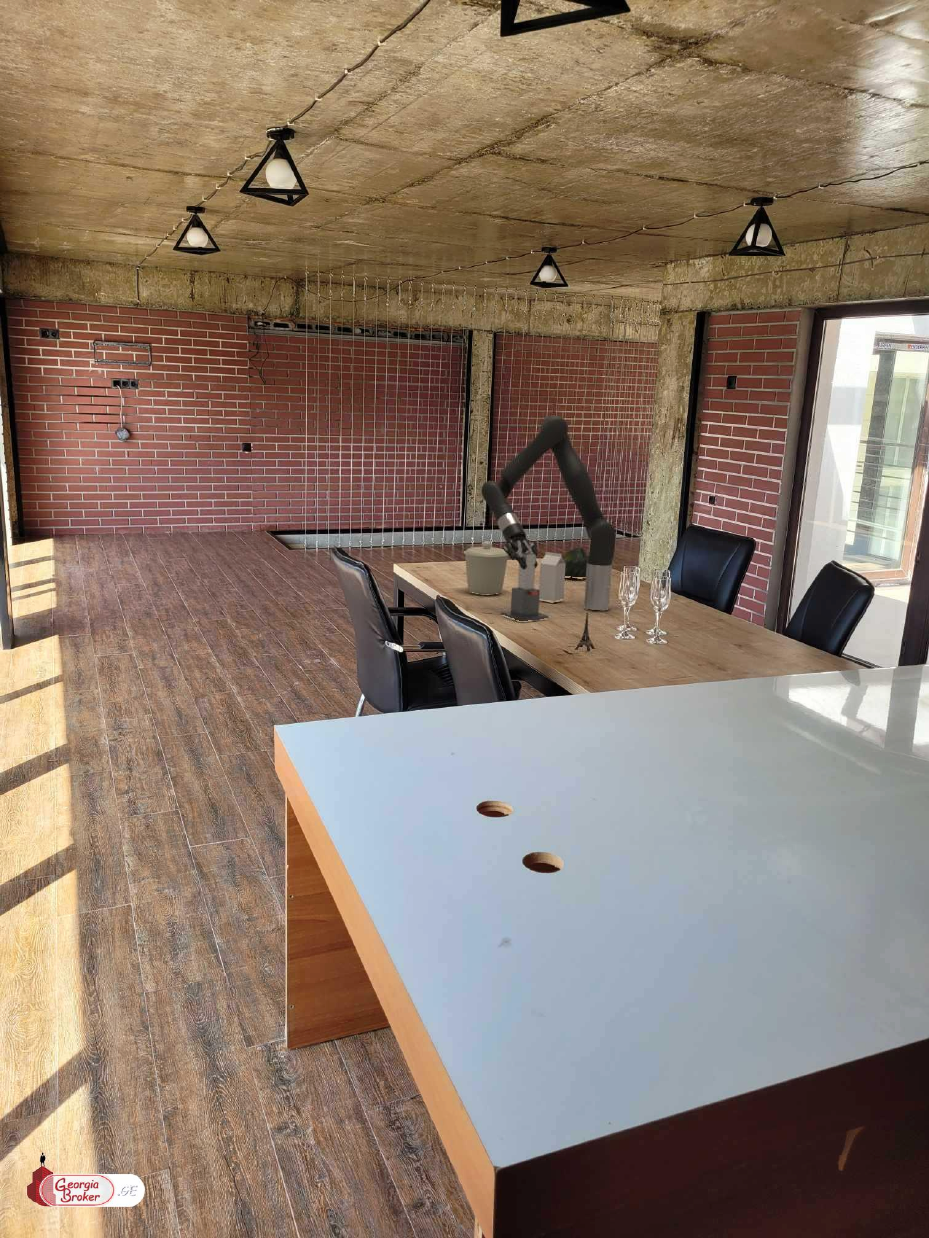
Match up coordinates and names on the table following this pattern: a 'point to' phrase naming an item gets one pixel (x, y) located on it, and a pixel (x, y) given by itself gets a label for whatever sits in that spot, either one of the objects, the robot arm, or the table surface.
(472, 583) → the canister
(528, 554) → the column
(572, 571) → the squash
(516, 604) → the jack stand base
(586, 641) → the eiffel tower figurine
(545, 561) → the milk carton
